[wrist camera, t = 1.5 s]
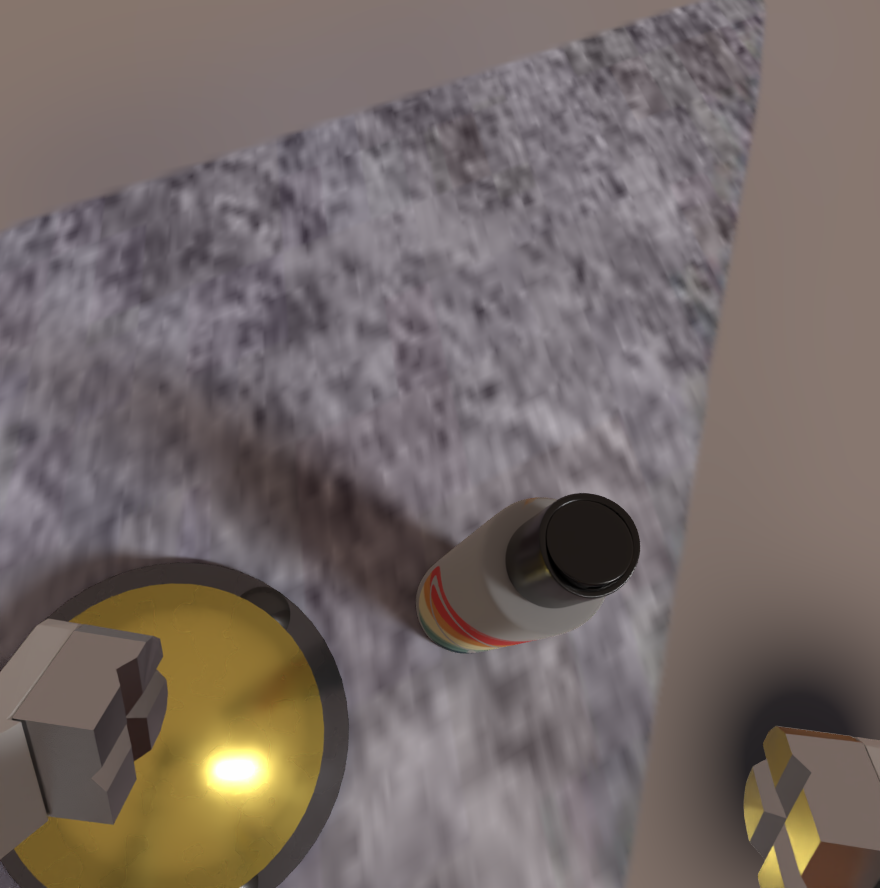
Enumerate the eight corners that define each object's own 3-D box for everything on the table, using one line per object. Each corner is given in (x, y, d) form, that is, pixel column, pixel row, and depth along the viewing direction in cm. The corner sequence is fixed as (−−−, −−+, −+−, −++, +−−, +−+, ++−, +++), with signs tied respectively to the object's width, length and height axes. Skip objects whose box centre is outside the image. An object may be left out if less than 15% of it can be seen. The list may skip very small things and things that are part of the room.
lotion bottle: (427, 666, 45) (544, 643, 26) (403, 568, 46) (496, 480, 27) (520, 640, 46) (691, 601, 28) (493, 546, 48) (639, 448, 29)
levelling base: (329, 939, 40) (334, 959, 36) (-61, 934, 36) (-92, 956, 33) (362, 579, 45) (369, 571, 42) (27, 549, 42) (8, 536, 39)
